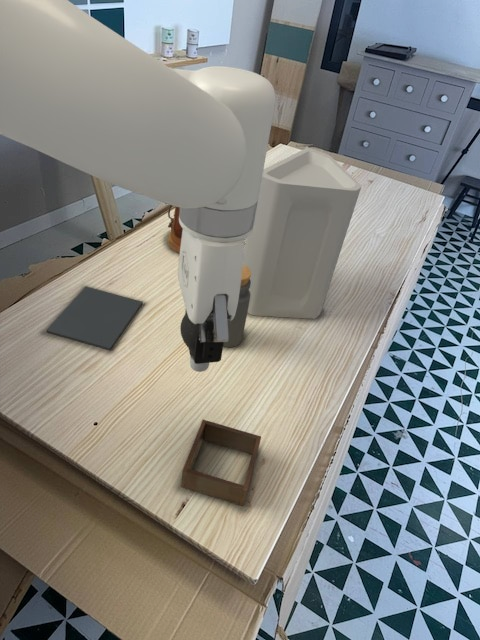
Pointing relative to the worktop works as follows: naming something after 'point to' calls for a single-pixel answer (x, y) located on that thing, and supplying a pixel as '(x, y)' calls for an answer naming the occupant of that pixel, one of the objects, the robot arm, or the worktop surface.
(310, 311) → the triangular concrete planter
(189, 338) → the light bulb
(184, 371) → the worktop surface
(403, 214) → the worktop surface
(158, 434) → the worktop surface
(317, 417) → the worktop surface
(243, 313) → the bottle
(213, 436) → the crate
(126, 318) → the mat
